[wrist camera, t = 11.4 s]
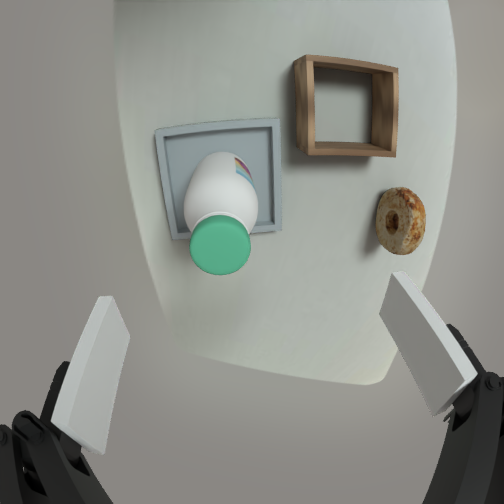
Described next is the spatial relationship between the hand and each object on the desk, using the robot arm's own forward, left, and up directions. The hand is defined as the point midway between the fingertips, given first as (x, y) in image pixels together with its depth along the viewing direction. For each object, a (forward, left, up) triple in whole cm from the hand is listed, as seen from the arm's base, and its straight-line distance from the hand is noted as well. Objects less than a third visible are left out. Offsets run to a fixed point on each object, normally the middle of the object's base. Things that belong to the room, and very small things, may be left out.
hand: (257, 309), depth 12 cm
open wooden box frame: (-8, +15, -29) cm, 34 cm away
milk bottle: (+2, -2, -29) cm, 29 cm away
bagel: (+8, +24, -30) cm, 39 cm away
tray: (+2, -2, -29) cm, 29 cm away
